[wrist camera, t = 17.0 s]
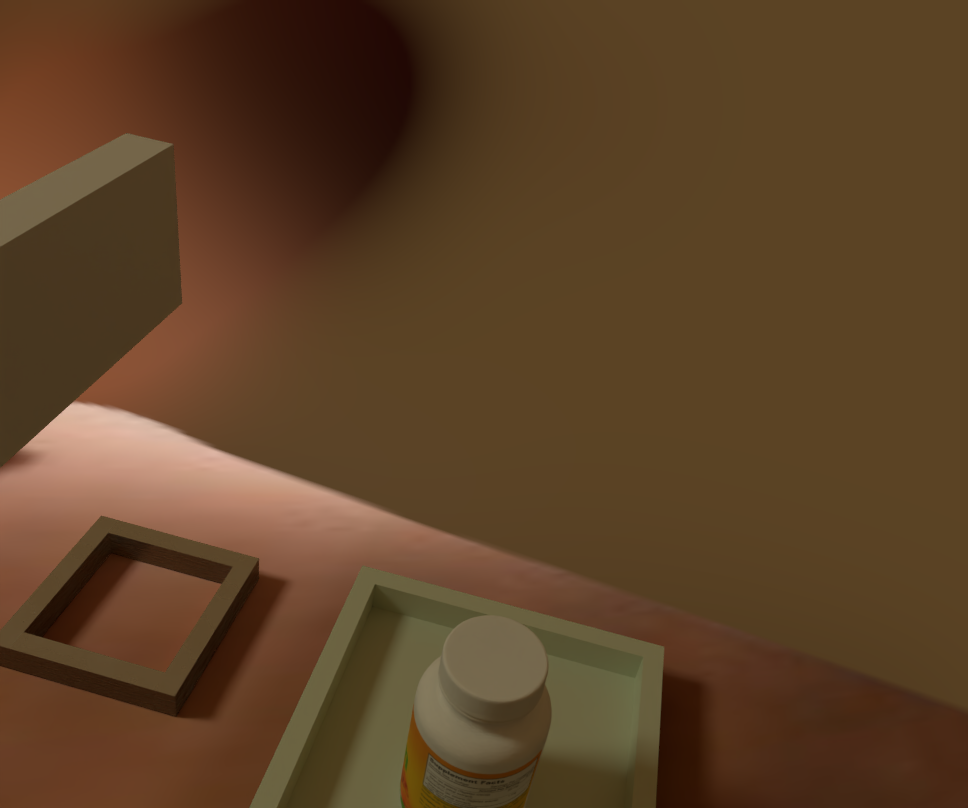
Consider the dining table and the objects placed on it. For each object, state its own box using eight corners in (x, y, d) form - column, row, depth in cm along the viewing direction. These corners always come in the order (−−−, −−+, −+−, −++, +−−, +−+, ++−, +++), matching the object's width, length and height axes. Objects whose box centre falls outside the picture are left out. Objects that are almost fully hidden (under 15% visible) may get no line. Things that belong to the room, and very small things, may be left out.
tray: (651, 677, 46) (664, 646, 44) (620, 1150, 29) (639, 1125, 28) (359, 598, 47) (362, 565, 46) (174, 1006, 31) (171, 976, 29)
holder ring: (258, 578, 47) (258, 558, 46) (176, 716, 40) (174, 696, 39) (103, 535, 48) (101, 515, 47) (-5, 663, 41) (-11, 642, 40)
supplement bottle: (428, 726, 40) (456, 581, 35) (537, 774, 39) (584, 631, 34) (376, 829, 36) (398, 681, 31) (497, 885, 35) (542, 743, 30)
